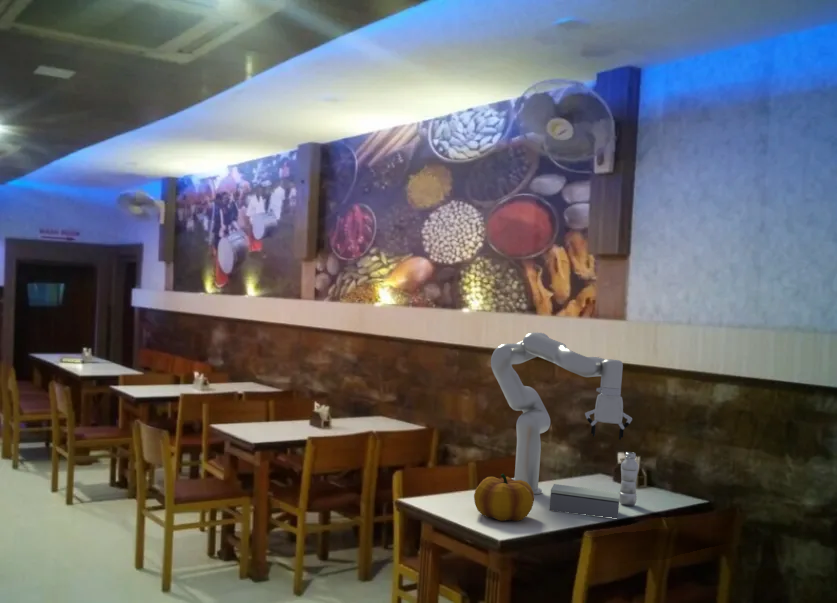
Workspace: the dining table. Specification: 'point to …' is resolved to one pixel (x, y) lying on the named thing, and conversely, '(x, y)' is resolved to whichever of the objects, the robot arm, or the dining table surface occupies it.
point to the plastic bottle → (628, 480)
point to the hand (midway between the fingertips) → (606, 437)
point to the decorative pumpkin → (504, 498)
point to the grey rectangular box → (583, 505)
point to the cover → (585, 492)
